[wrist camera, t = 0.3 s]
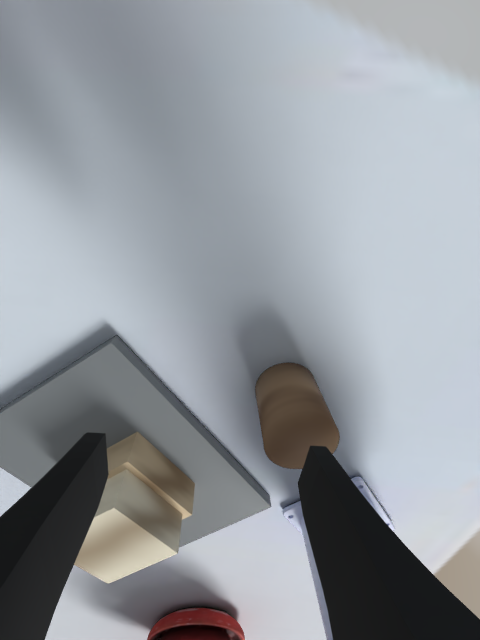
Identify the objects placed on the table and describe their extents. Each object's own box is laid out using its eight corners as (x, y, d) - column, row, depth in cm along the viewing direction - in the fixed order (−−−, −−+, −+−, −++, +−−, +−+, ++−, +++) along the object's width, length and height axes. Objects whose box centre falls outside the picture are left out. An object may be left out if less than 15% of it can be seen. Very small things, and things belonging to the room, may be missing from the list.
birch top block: (182, 514, 21) (177, 553, 19) (119, 543, 22) (108, 583, 20) (126, 469, 19) (114, 507, 17) (59, 504, 20) (39, 544, 18)
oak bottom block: (195, 483, 24) (192, 515, 21) (128, 515, 25) (119, 548, 23) (137, 431, 21) (127, 461, 19) (66, 470, 22) (48, 503, 20)
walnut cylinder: (324, 393, 22) (351, 449, 17) (273, 419, 23) (286, 478, 18) (297, 352, 20) (319, 401, 16) (243, 381, 21) (249, 436, 16)
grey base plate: (269, 495, 26) (271, 507, 26) (148, 550, 29) (146, 562, 28) (116, 335, 19) (111, 342, 18) (-31, 429, 21) (-42, 439, 20)
